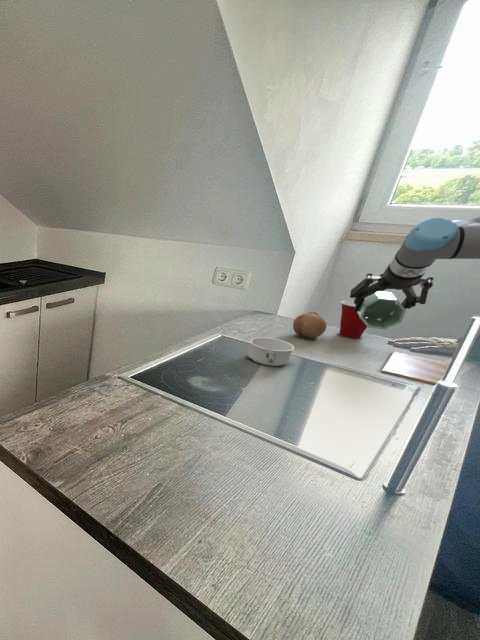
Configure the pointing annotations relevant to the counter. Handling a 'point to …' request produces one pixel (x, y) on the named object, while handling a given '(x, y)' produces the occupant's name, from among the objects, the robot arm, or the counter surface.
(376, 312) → the tumbler
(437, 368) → the wooden cutting board
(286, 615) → the counter surface
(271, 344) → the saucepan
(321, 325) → the onion
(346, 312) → the plastic cup
